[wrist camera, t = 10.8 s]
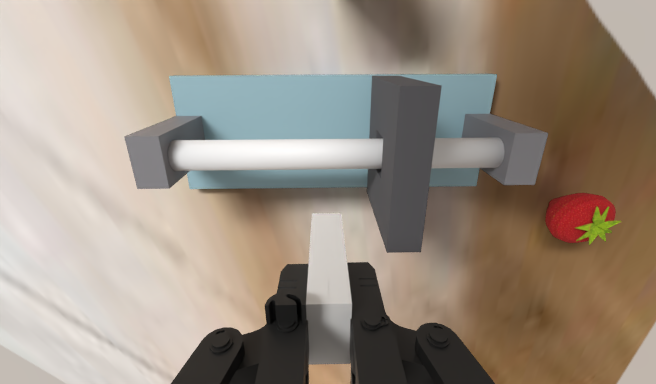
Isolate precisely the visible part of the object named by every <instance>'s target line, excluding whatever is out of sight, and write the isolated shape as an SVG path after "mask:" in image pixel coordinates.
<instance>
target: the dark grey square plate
mask: <svg viewBox="0 0 656 384" xmlns="http://www.w3.org/2000/svg"><path fill="white" fill-rule="evenodd" d="M441 88H442V86H441V85H437V84H433V83H428V82H424V81H420V80H416V79H411V78H407V77H403V76H372V88H371V110H370V132H369V139H383V153H382V169H368V176H367V194H368V197H369V200H370V203H371V206H372V209H373V212H374V215H375V218H376V221H377V224H378V227H379V230H380V233H381V236H382V239H383V242H384V245H385V248H386V251H387V253H388V252H421V247H422V239H423V231H424V223H425V215H426V207H427V199H428V191H429V183H430V175H431V167H432V159H433V151H434V143H435V136H436V128H437V120H438V112H439V104H440V96H441Z"/></svg>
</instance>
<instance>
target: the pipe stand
mask: <svg viewBox="0 0 656 384" xmlns="http://www.w3.org/2000/svg"><path fill="white" fill-rule="evenodd" d="M372 76H403V77H407V78H411V79H416V80H420V81H424V82H428V83H433V84H437V85H441V86H442V88H441V96H440V104H439V112H438V120H437V128H436V136H435V143H434V151H433V159H432V167H431V175H430V183H429V187H434V186H476V185H477V180H478V174H479V169H482V170H483V171H485V172H486V173H487V174H489V175H490V176H492V177H493V178H495V179H496V180H497V181H499V182H500V183H502V184H503V185H535V182H536V178H537V174H538V171H539V167H540V163H541V159H542V155H543V152H544V148H545V144H546V140H547V136H548V133H546V132H543V131H540V130H537V129H534V128H531V127H528V126H525V125H522V124H519V123H516V122H513V121H510V120H507V119H504V118H501V117H498V116H495V115H492V114H490V110H491V104H492V99H493V94H494V88H495V83H496V78H497V74H366V75H192V76H169V79H170V84H171V89H172V95H173V100H174V106H175V111H176V116H175V117H172V118H170V119H167V120H165V121H162V122H160V123H157V124H155V125H152V126H150V127H147V128H145V129H142V130H140V131H137V132H135V133H132V134H130V135H127V136H125V141H126V145H127V149H128V153H129V157H130V161H131V165H132V169H133V173H134V177H135V181H136V185H137V189H161V188H170V187H172V186H173V185H174V184H175V183H176V182H177V181H179V180H180V179H181V178H182V177H183V176H184V175H186V174H187V176H188V182H189V187H190V189H236V188H335V187H367V176H368V169H382V153H383V139H369V132H370V110H371V88H372Z"/></svg>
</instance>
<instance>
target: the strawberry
mask: <svg viewBox="0 0 656 384" xmlns="http://www.w3.org/2000/svg"><path fill="white" fill-rule="evenodd" d="M615 213H616V211H615V207H614V205H613V204H612V203H611V202H610V201H608V200H607V199H606V198H605V197H603V196H599V195H594V194H588V193H577V194H571V195H566V196H562V197H559V198H555V199H553V200H551V201H550V202H549V206H548V208H547V211H546V220H545V222H546V225H547V227H548V229H549V230H550V232H551V234H552V235H553V236H554V237H555V238H558V239H560V240H562V241H564V242H568V243H578V242H585V241H589V245H590V244H591V243H592V241H593V240H594V239H595V238H596V237H598V236H600V237H601V238H602V239H603V240H604V241H605V242H606V238H605V233H612V232H611V231H610V230H609V229H608V228H610V227H612V226H614V225H616V224H617V223H619V222H621V221H614V218H615Z"/></svg>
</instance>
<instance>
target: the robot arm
mask: <svg viewBox="0 0 656 384" xmlns="http://www.w3.org/2000/svg"><path fill="white" fill-rule="evenodd" d="M265 312H266V322H267V324H266V325H265V326H264V327H262V328H261V329H259V330H257V331H254V332H251V333H247V334H244V335H242V334H241V333H240V332H239V331H238V330H237V329H234V328H220V329H217V330H214V331H213V332H211V333H209V334H208V335H207V336H206V337H205V338H204V339H203V340H202V341H201V343H200V344H199V345H198V347H197V348H196V350H195V351H194V352H193V354H192V355H191V357H190V358H189V359H188V361H187V362H186V363H185V365H184V366H183V368H182V369H181V370H180V372H179V373H178V375H177V376H176V377H175V379H174V380H173V382H172V383H171V384H309V371H308V367H309V364H350V360H351V384H495V383H494V382H493V380H492V379H491V378H490V377H489V375H488V374H487V373H486V372H485V370H484V369H483V368H482V366H481V365H480V364H479V363H478V361H477V360H476V359H475V358H474V356H473V355H472V354H471V352H470V351H469V350H468V349H467V347H466V346H465V345H464V344H463V342H462V341H461V340H460V339H459V337H458V336H457V335H456V334H455V333H454V332H453V331H452V330H451V329H450V328H448V327H446V326H444V325H442V324H437V323H426V324H424V325H421V326H420V327H419V329H418V330H417V331H415V330H411V329H407V328H403V327H400V326H398V325H397V324H395V323H393V322H392V321H391V320H390V318H389V317H388V316H387V315H386V313H385V309H384V305H383V301H382V297H381V293H380V289H379V286H378V281H377V277H376V273H375V269H374V268H373V267H372V266H371V265H370V264H369V263H368V262H356V263H347V257H346V249H345V241H344V232H343V224H342V215H341V213H314V214H312V222H311V237H310V251H309V264H287V265H286V266H285V268H284V269H283V270H282V271H281V274H280V279H279V285H278V290H277V294H275V295H273V296H272V297H270V298H269V299H268V300H267V302H266V304H265Z"/></svg>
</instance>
